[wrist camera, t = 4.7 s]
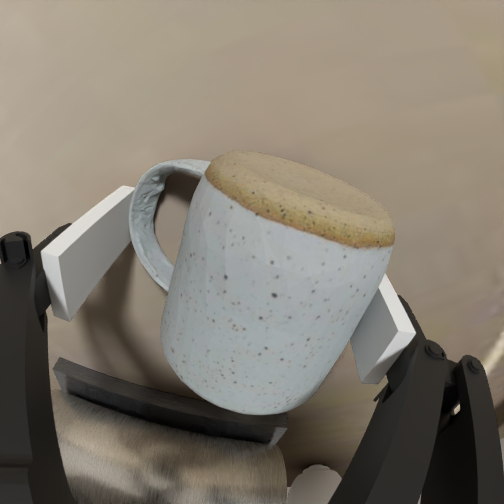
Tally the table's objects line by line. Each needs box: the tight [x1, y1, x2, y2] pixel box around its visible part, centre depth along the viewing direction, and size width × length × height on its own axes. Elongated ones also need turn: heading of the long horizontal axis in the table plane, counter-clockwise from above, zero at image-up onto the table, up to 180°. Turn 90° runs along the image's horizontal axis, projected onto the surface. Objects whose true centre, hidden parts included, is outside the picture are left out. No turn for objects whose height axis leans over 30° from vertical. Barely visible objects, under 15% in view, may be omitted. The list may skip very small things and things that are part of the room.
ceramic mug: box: [129, 151, 395, 415], centre depth 11 cm, size 11×8×8 cm
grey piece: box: [51, 357, 288, 504], centre depth 18 cm, size 21×17×15 cm
